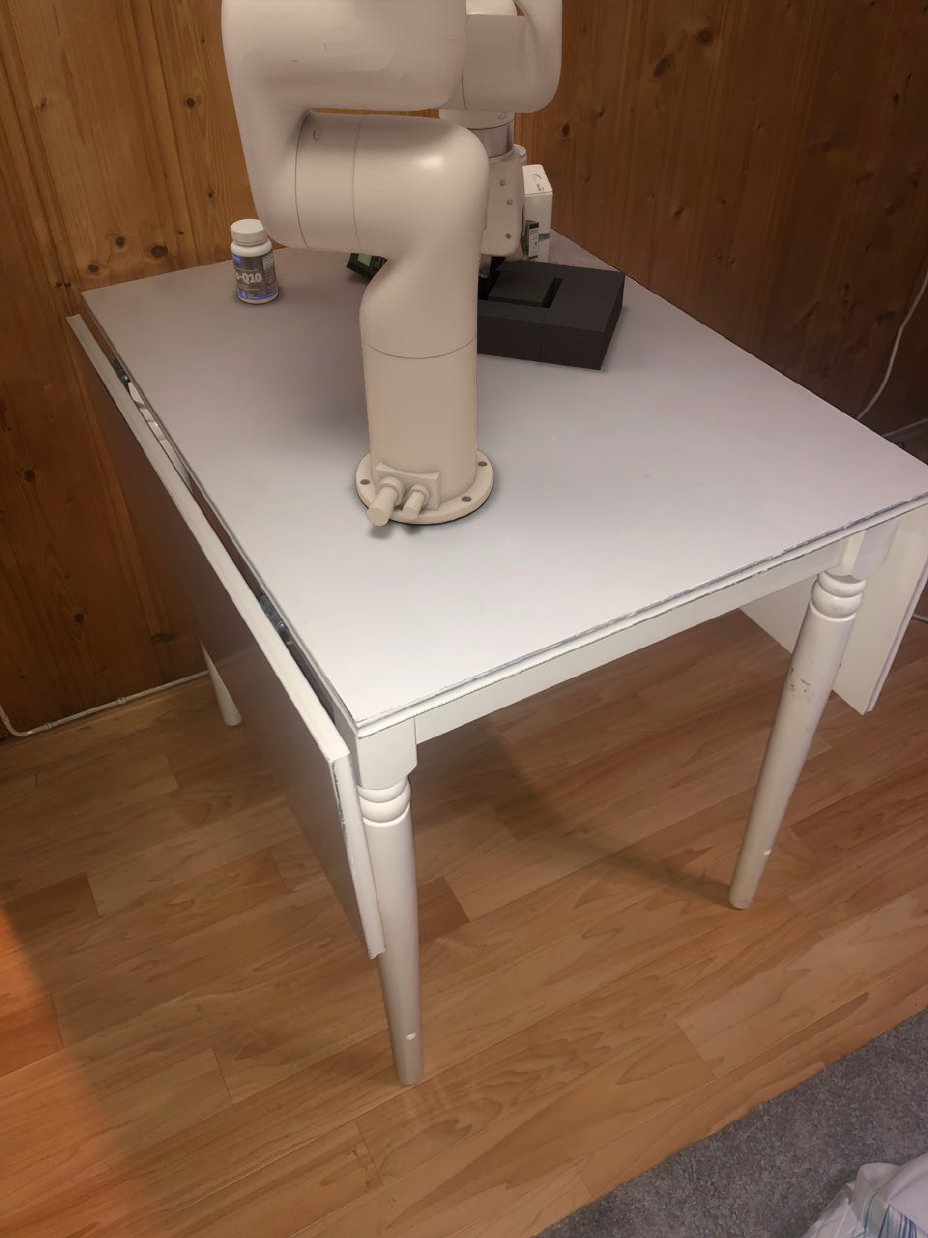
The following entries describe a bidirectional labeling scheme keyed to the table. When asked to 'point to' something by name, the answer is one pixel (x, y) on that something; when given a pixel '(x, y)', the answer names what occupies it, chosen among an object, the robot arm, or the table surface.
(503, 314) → the base pad
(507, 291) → the black block
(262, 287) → the pill bottle
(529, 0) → the robot arm
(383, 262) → the calculator
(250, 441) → the table surface
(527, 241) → the ink box
